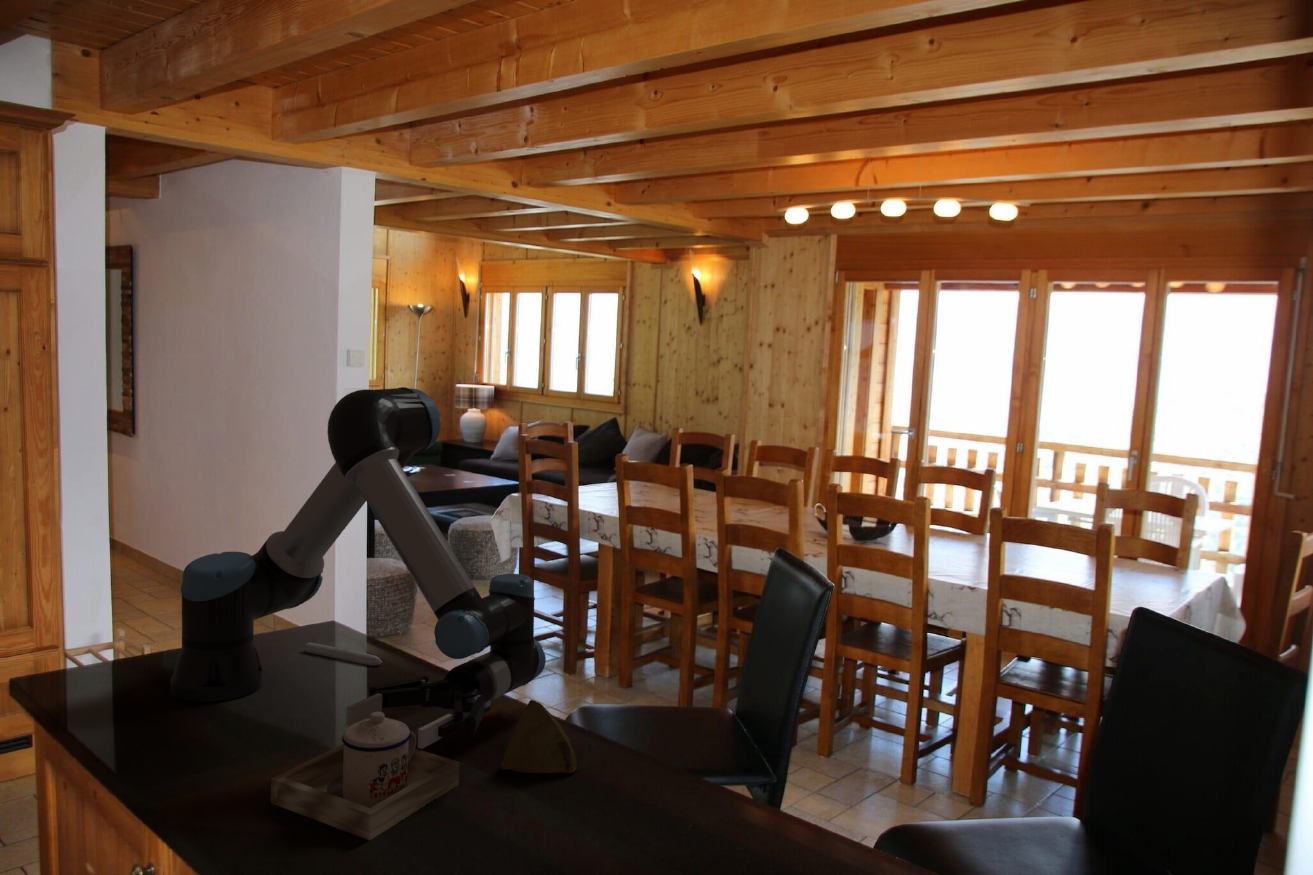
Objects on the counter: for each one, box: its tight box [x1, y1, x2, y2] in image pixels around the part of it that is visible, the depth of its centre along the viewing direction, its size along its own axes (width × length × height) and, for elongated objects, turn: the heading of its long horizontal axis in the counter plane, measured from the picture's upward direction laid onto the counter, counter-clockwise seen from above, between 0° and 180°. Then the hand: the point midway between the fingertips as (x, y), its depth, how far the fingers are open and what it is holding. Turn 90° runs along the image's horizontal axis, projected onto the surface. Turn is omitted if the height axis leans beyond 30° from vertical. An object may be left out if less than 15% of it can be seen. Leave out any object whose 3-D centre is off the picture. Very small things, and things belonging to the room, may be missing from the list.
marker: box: [304, 642, 383, 667], centre depth 186 cm, size 18×2×2 cm, turn 69°
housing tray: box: [270, 743, 460, 841], centre depth 133 cm, size 18×18×4 cm
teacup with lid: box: [341, 711, 417, 808], centre depth 131 cm, size 12×9×12 cm
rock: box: [500, 699, 578, 774], centre depth 143 cm, size 11×9×10 cm
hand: (383, 727), depth 134 cm, fingers open, 13 cm apart
